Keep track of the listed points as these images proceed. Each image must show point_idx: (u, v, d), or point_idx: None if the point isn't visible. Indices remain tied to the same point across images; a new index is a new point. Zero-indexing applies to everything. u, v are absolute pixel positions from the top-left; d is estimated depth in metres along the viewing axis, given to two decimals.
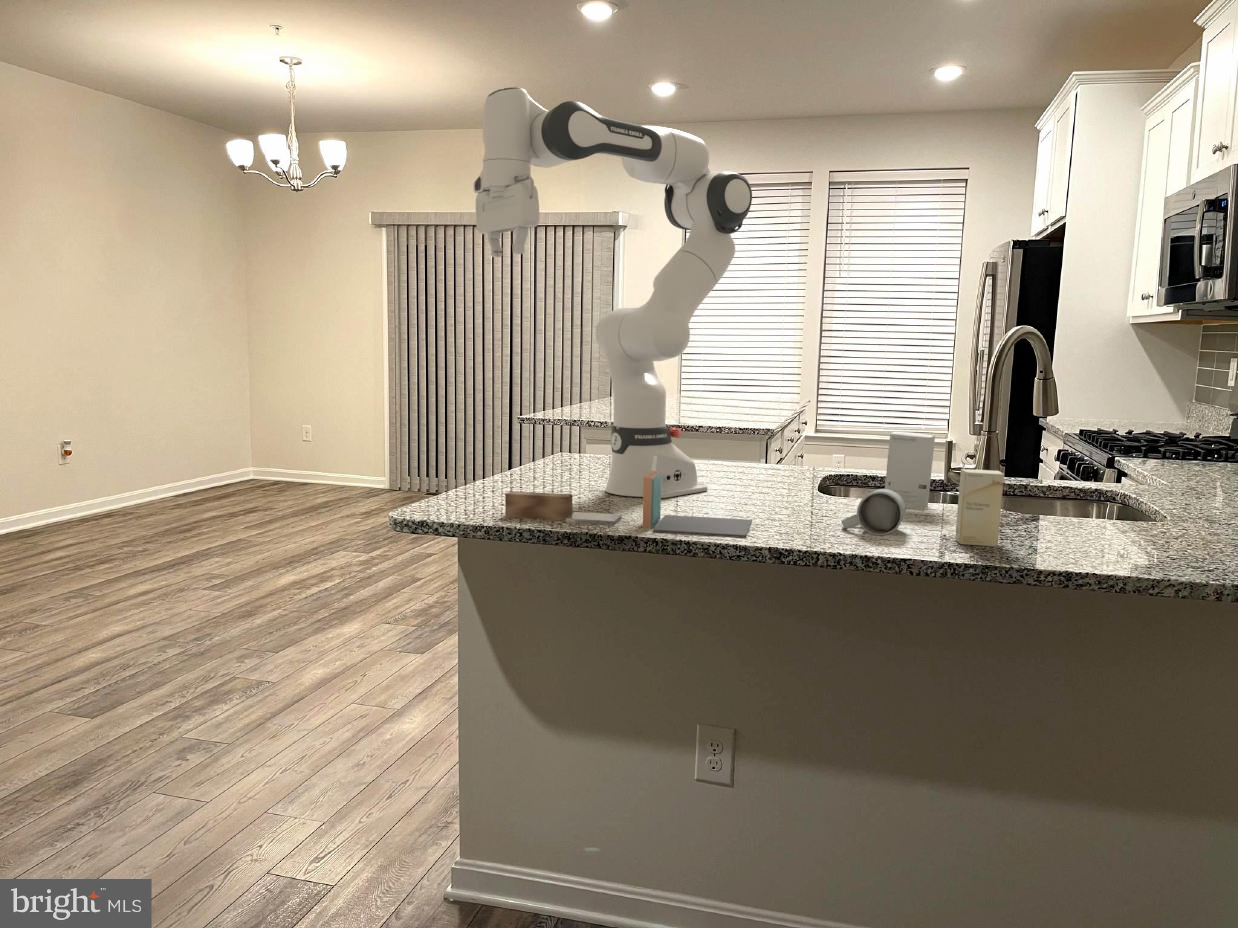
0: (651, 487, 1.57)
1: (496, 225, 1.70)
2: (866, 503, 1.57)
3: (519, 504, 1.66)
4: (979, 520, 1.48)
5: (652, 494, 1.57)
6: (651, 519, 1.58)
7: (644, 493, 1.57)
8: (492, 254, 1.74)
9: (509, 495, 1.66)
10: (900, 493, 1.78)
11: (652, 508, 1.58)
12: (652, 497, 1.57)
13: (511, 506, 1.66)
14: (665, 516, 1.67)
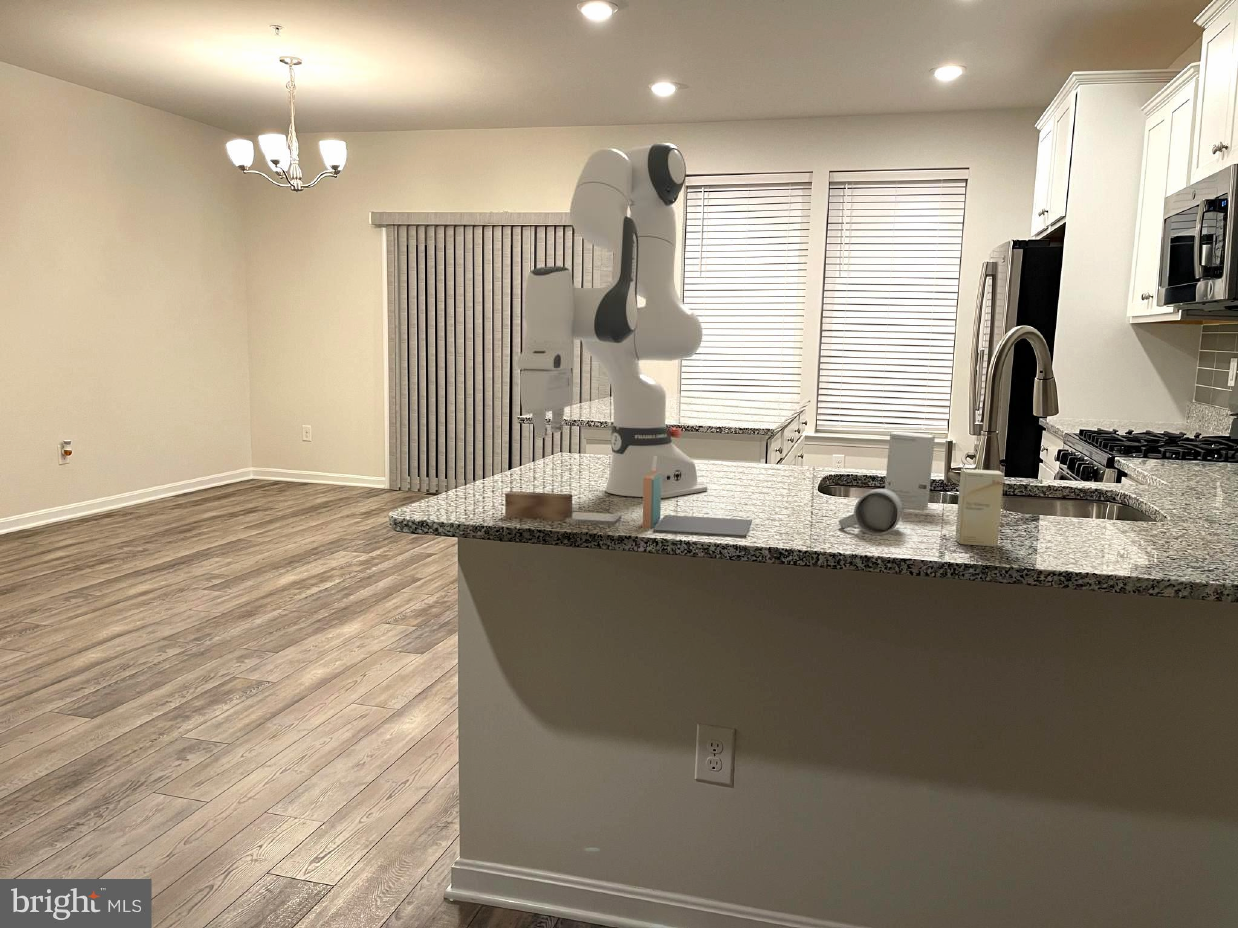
0: (651, 487, 1.57)
1: (557, 405, 1.62)
2: (863, 503, 1.57)
3: (519, 504, 1.66)
4: (979, 520, 1.48)
5: (652, 494, 1.57)
6: (651, 519, 1.58)
7: (644, 493, 1.57)
8: (545, 435, 1.59)
9: (509, 495, 1.66)
10: (900, 493, 1.78)
11: (652, 508, 1.58)
12: (652, 497, 1.57)
13: (511, 506, 1.66)
14: (665, 516, 1.67)
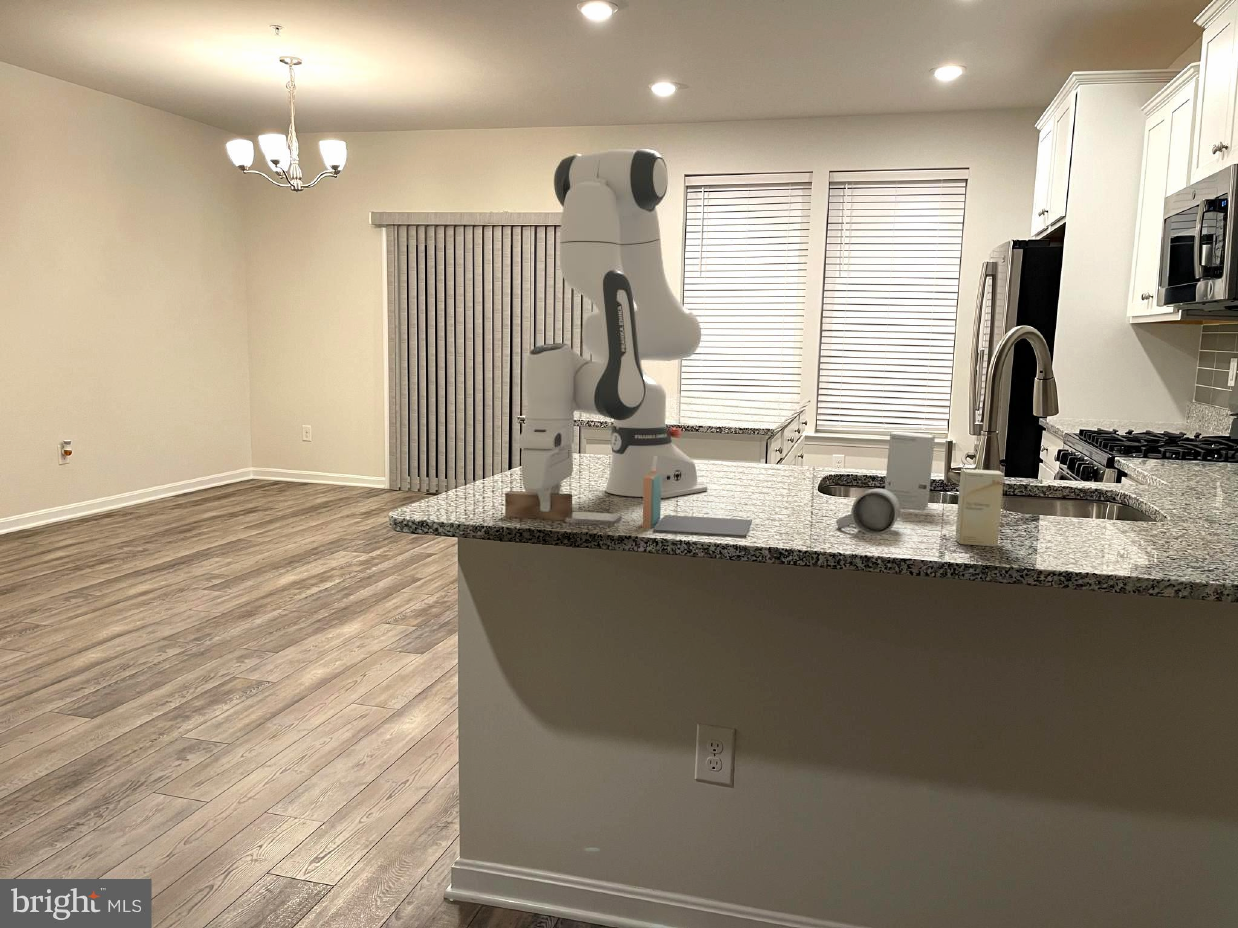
0: (651, 487, 1.57)
1: (557, 480, 1.64)
2: (860, 502, 1.58)
3: (519, 503, 1.66)
4: (979, 520, 1.48)
5: (652, 494, 1.57)
6: (651, 519, 1.58)
7: (644, 493, 1.57)
8: (550, 509, 1.63)
9: (509, 495, 1.66)
10: (900, 493, 1.78)
11: (652, 508, 1.58)
12: (652, 497, 1.57)
13: (511, 506, 1.66)
14: (665, 516, 1.67)
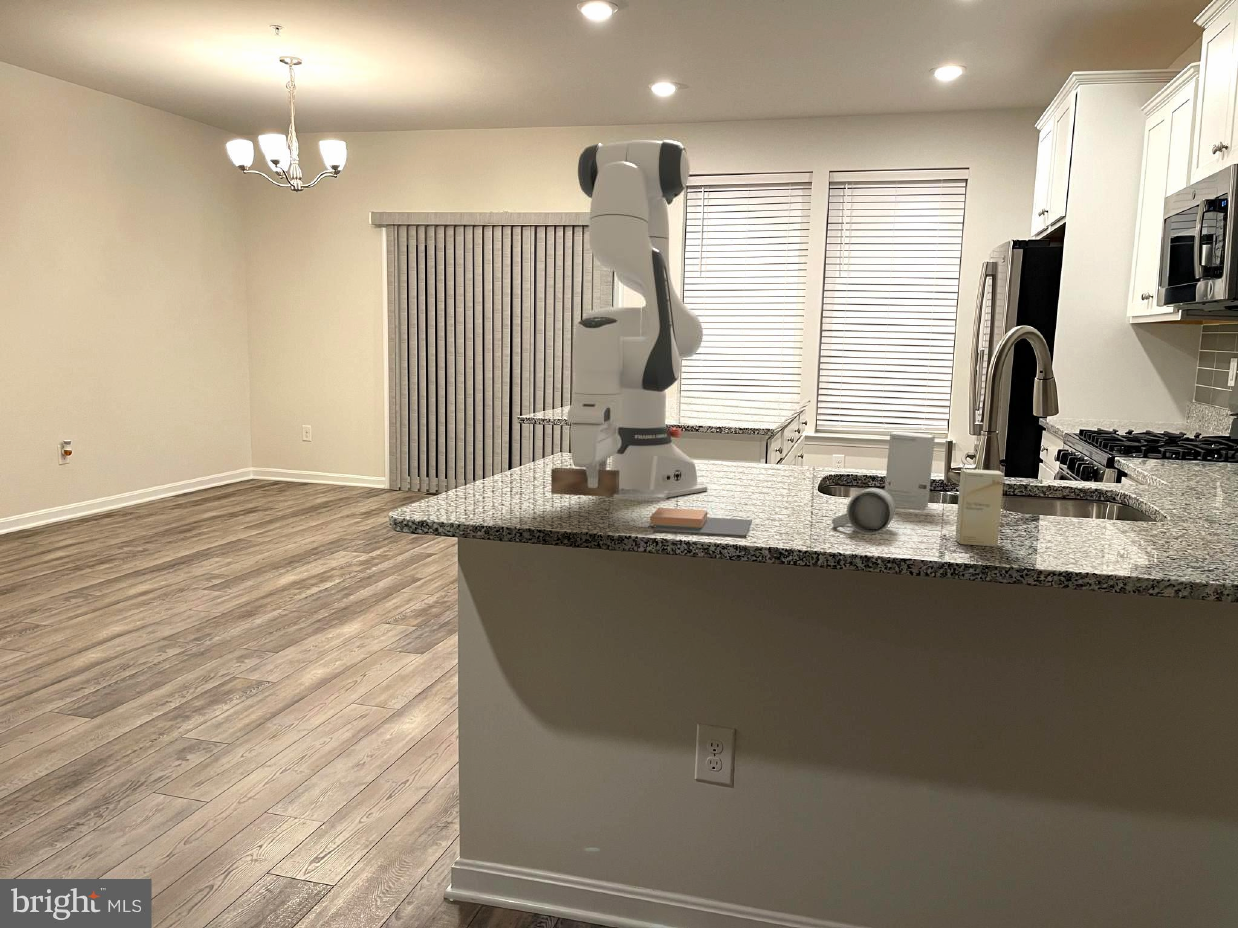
0: (692, 526, 1.56)
1: (605, 456, 1.61)
2: (856, 502, 1.58)
3: (565, 480, 1.63)
4: (979, 520, 1.48)
5: (684, 527, 1.57)
6: (659, 525, 1.58)
7: (685, 519, 1.56)
8: (598, 485, 1.61)
9: (555, 471, 1.63)
10: (900, 493, 1.78)
11: (670, 526, 1.57)
12: (681, 527, 1.57)
13: (557, 482, 1.63)
14: None
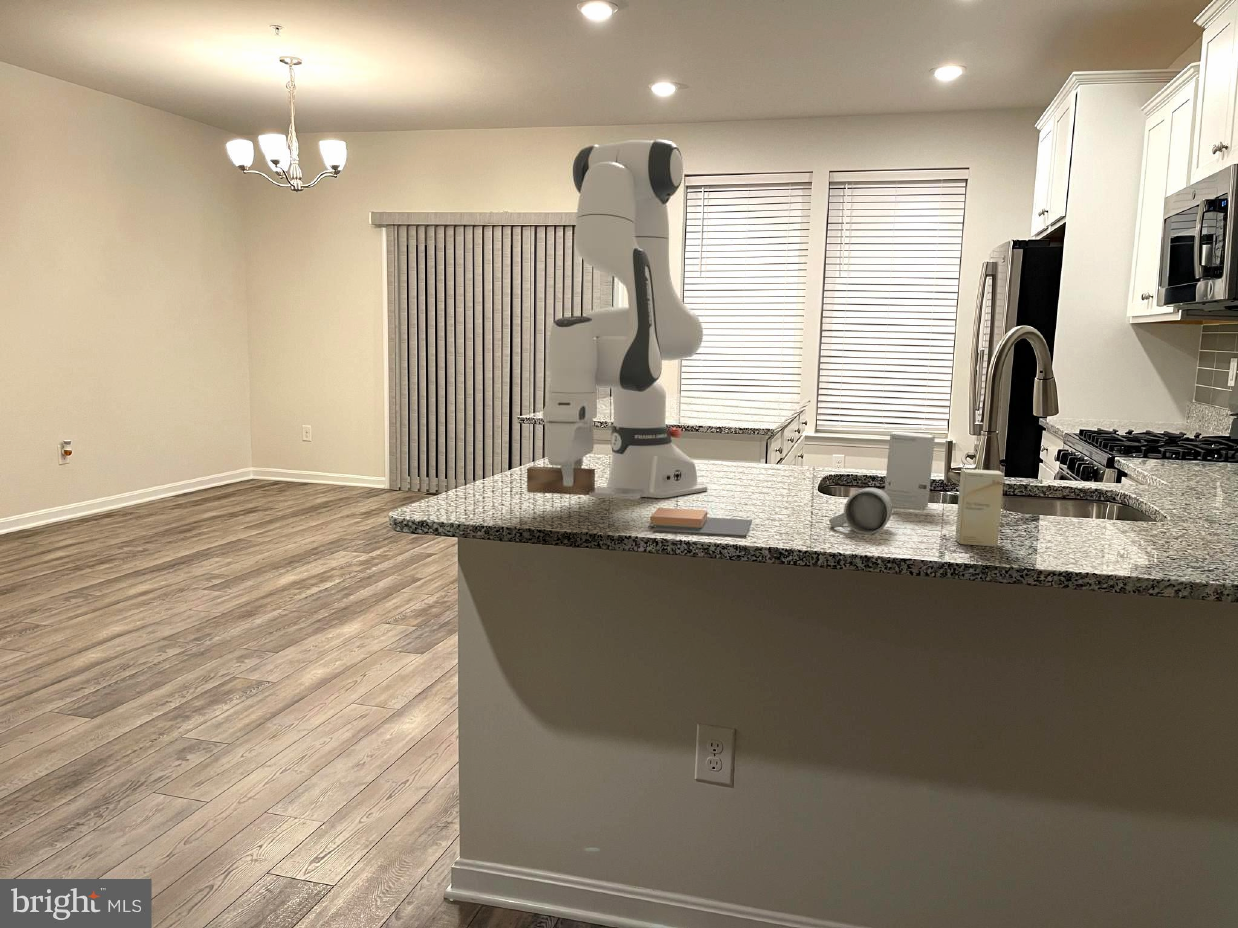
0: (692, 526, 1.56)
1: (580, 455, 1.62)
2: (853, 502, 1.58)
3: (541, 479, 1.64)
4: (979, 520, 1.48)
5: (684, 527, 1.57)
6: (659, 525, 1.58)
7: (685, 519, 1.56)
8: (573, 483, 1.62)
9: (531, 470, 1.64)
10: (900, 493, 1.78)
11: (670, 526, 1.57)
12: (681, 527, 1.57)
13: (533, 481, 1.64)
14: None
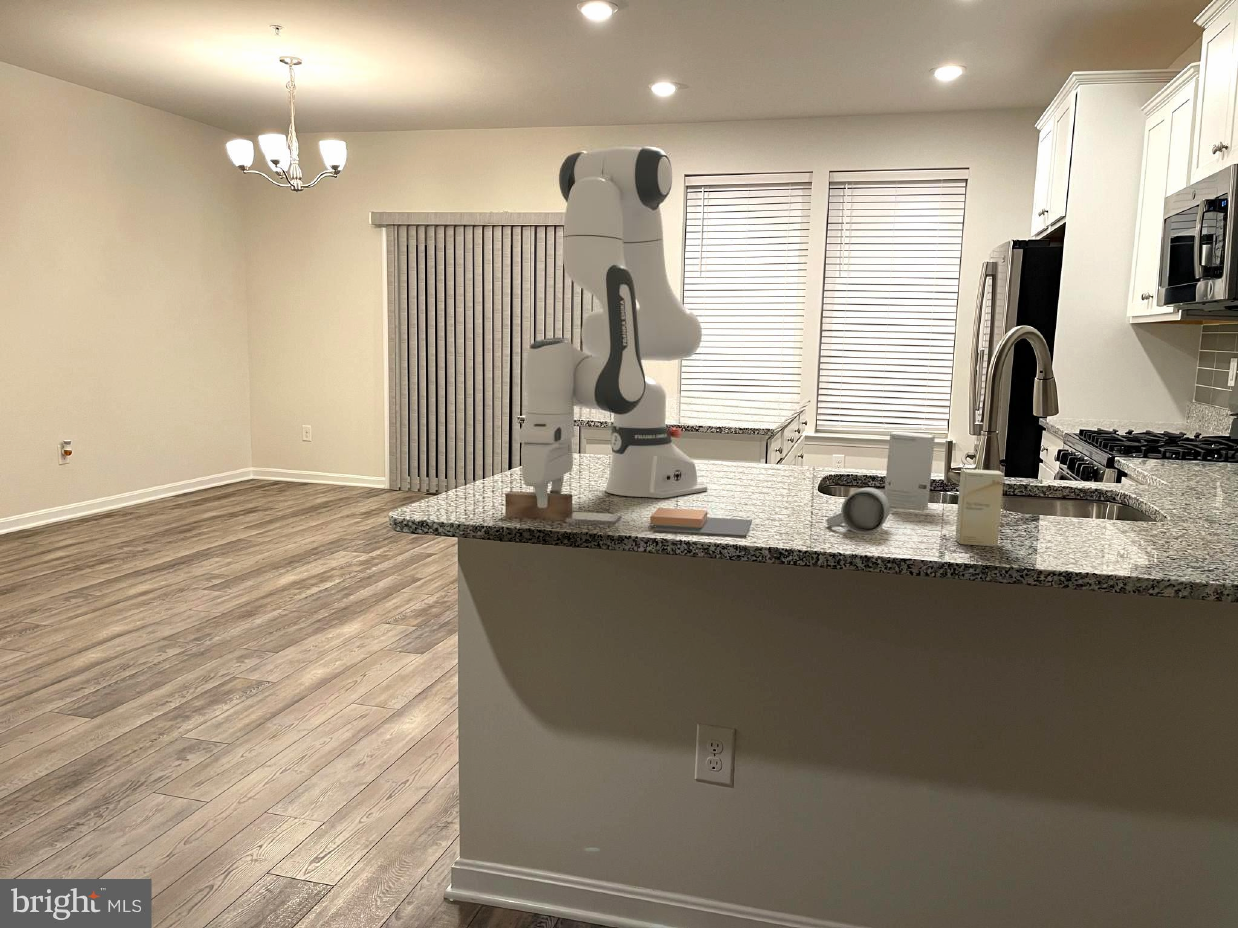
0: (692, 526, 1.56)
1: (557, 475, 1.64)
2: (850, 502, 1.58)
3: (519, 504, 1.66)
4: (979, 520, 1.48)
5: (684, 527, 1.57)
6: (659, 525, 1.58)
7: (685, 519, 1.56)
8: (547, 505, 1.62)
9: (509, 495, 1.66)
10: (900, 493, 1.78)
11: (670, 526, 1.57)
12: (681, 527, 1.57)
13: (511, 506, 1.66)
14: None
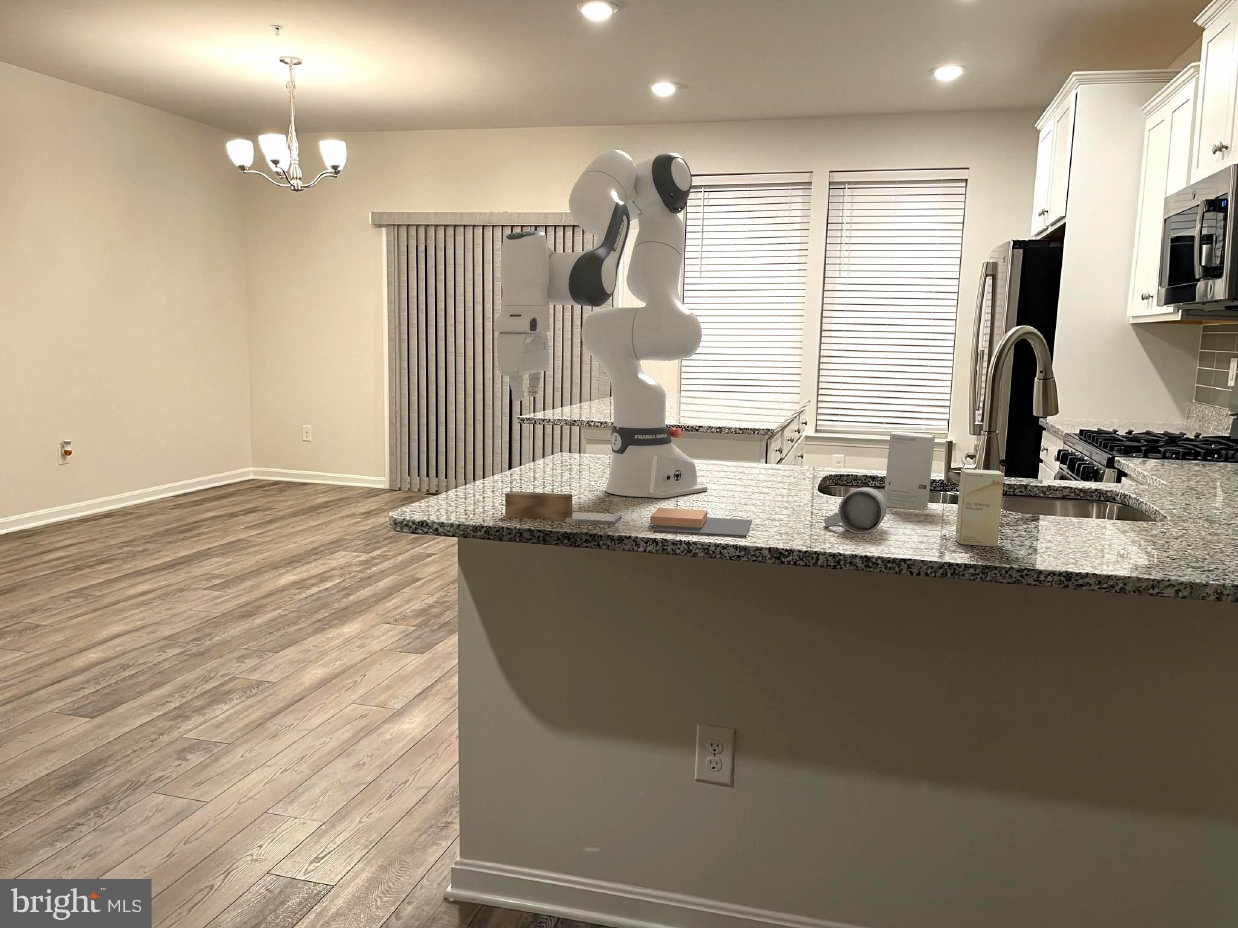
0: (692, 526, 1.56)
1: (533, 369, 1.64)
2: (847, 501, 1.58)
3: (519, 504, 1.66)
4: (979, 520, 1.48)
5: (684, 527, 1.57)
6: (659, 525, 1.58)
7: (685, 519, 1.56)
8: (522, 398, 1.61)
9: (509, 495, 1.66)
10: (900, 493, 1.78)
11: (670, 526, 1.57)
12: (681, 527, 1.57)
13: (511, 506, 1.66)
14: None
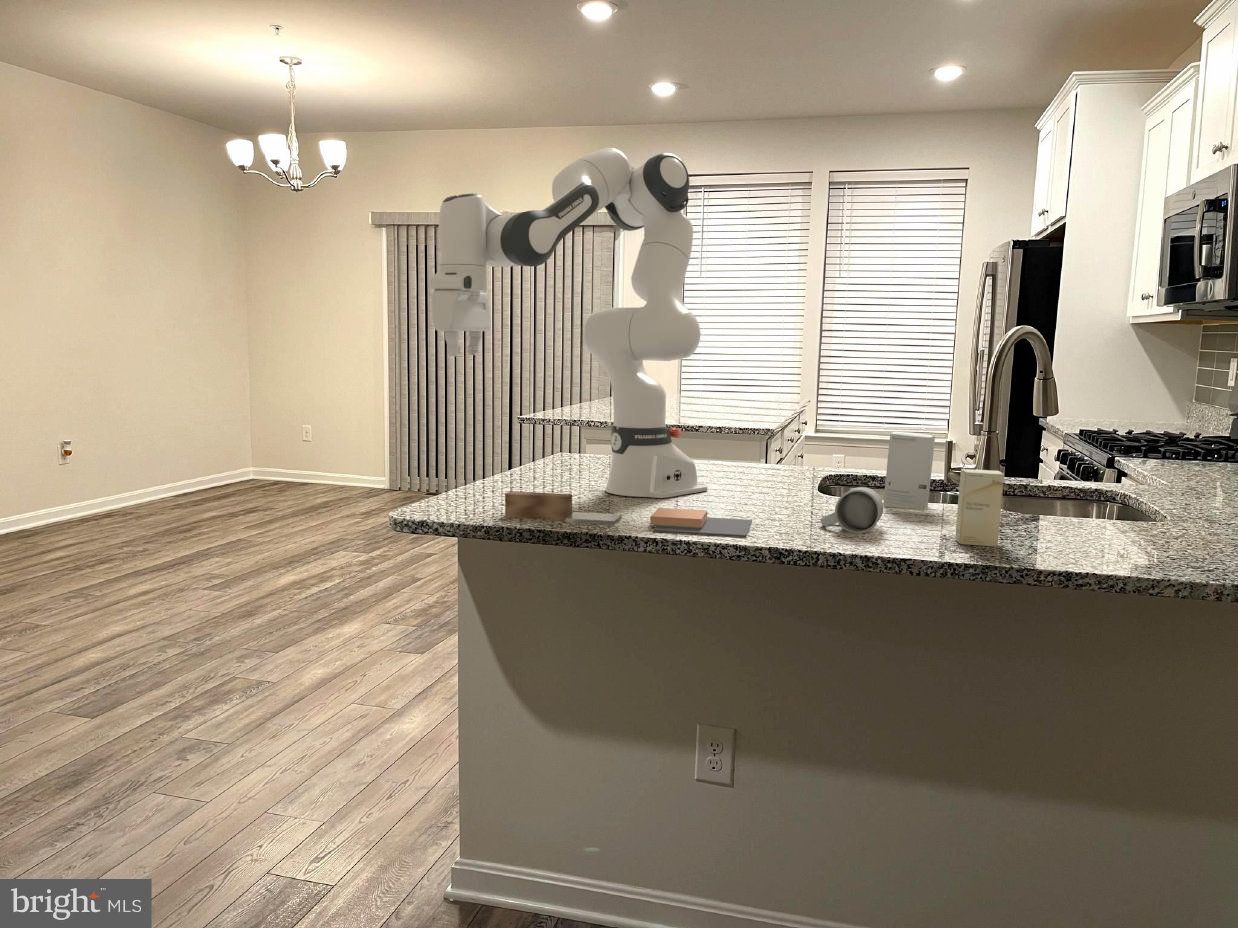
0: (692, 526, 1.56)
1: (470, 327, 1.71)
2: (844, 501, 1.59)
3: (518, 504, 1.66)
4: (979, 520, 1.48)
5: (684, 527, 1.57)
6: (659, 525, 1.58)
7: (685, 519, 1.56)
8: (458, 354, 1.68)
9: (509, 495, 1.66)
10: (900, 493, 1.78)
11: (670, 526, 1.57)
12: (681, 527, 1.57)
13: (511, 506, 1.66)
14: None
